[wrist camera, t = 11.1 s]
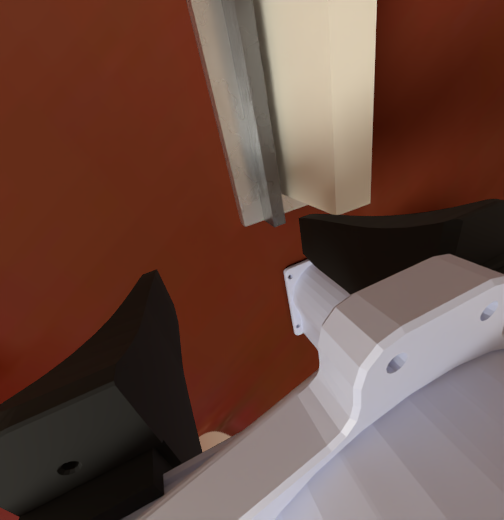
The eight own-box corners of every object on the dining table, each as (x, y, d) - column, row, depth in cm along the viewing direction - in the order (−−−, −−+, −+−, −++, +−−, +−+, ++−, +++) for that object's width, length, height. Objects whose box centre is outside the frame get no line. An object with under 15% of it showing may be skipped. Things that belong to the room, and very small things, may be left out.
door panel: (307, 185, 21) (370, 203, 15) (282, 194, 21) (336, 215, 15) (289, -9, 15) (380, -103, 9) (252, -4, 15) (323, -101, 9)
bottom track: (337, 189, 24) (360, 195, 21) (241, 223, 21) (253, 234, 19) (329, -59, 16) (364, -97, 13) (174, -47, 14) (181, -89, 11)
